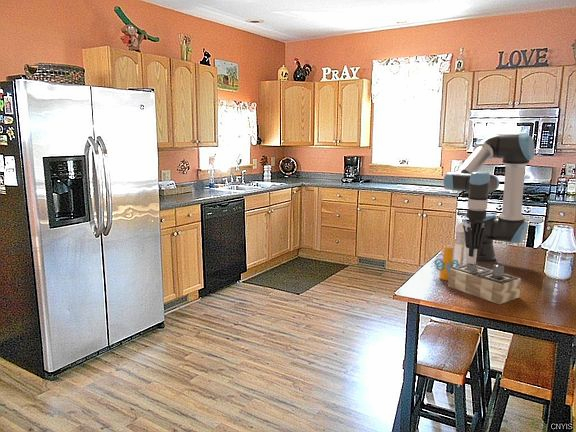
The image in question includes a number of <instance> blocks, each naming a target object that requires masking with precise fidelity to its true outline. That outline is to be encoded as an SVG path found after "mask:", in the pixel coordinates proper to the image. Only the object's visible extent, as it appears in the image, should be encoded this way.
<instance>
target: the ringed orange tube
mask: <svg viewBox="0 0 576 432" xmlns="http://www.w3.org/2000/svg"><path fill="white" fill-rule="evenodd" d="M437 261H438V262H437ZM454 261H456V262H454ZM439 264H440V265H439ZM454 264H456V266H455V267H457V266H460V264H459V263H458V261H457V260H454V246H452V245H444V246H443V254H442V258H436V259H435V260H434V265H435V267H436V270H438V271H439V279H440V280H443V281H448V278H449V269H450V268H453V265H454Z"/></svg>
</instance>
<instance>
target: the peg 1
mask: <svg viewBox="0 0 576 432" xmlns="http://www.w3.org/2000/svg"><path fill="white" fill-rule="evenodd" d="M477 266H478V264H477V263H476V264H470V263H467V269H466V270H467V271H471V272H476V270H477Z"/></svg>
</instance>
